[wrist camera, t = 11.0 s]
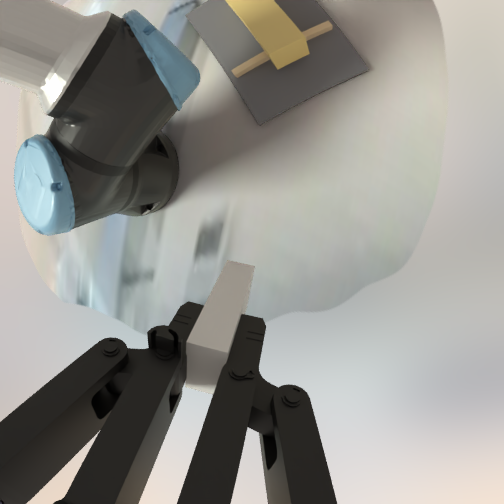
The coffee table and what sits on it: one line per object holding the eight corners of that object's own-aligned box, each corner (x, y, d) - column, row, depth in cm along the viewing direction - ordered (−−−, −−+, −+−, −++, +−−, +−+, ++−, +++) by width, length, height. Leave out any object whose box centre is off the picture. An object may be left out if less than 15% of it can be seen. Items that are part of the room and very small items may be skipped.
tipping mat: (368, 70, 32) (370, 66, 30) (259, 125, 39) (256, 123, 37) (280, -33, 29) (277, -40, 26) (187, 17, 35) (181, 11, 33)
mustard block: (305, 36, 27) (245, -28, 26) (268, 54, 28) (215, -13, 28) (309, 53, 31) (255, -11, 31) (277, 69, 33) (227, 3, 32)
